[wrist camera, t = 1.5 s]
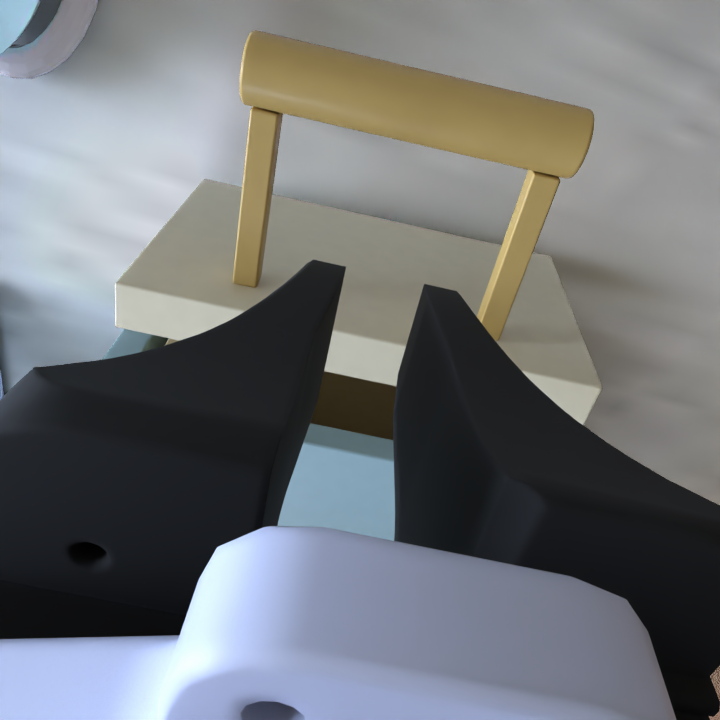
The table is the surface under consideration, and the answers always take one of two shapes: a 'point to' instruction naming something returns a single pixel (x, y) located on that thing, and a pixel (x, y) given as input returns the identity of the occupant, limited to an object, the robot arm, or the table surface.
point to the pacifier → (41, 36)
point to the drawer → (374, 230)
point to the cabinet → (323, 471)
